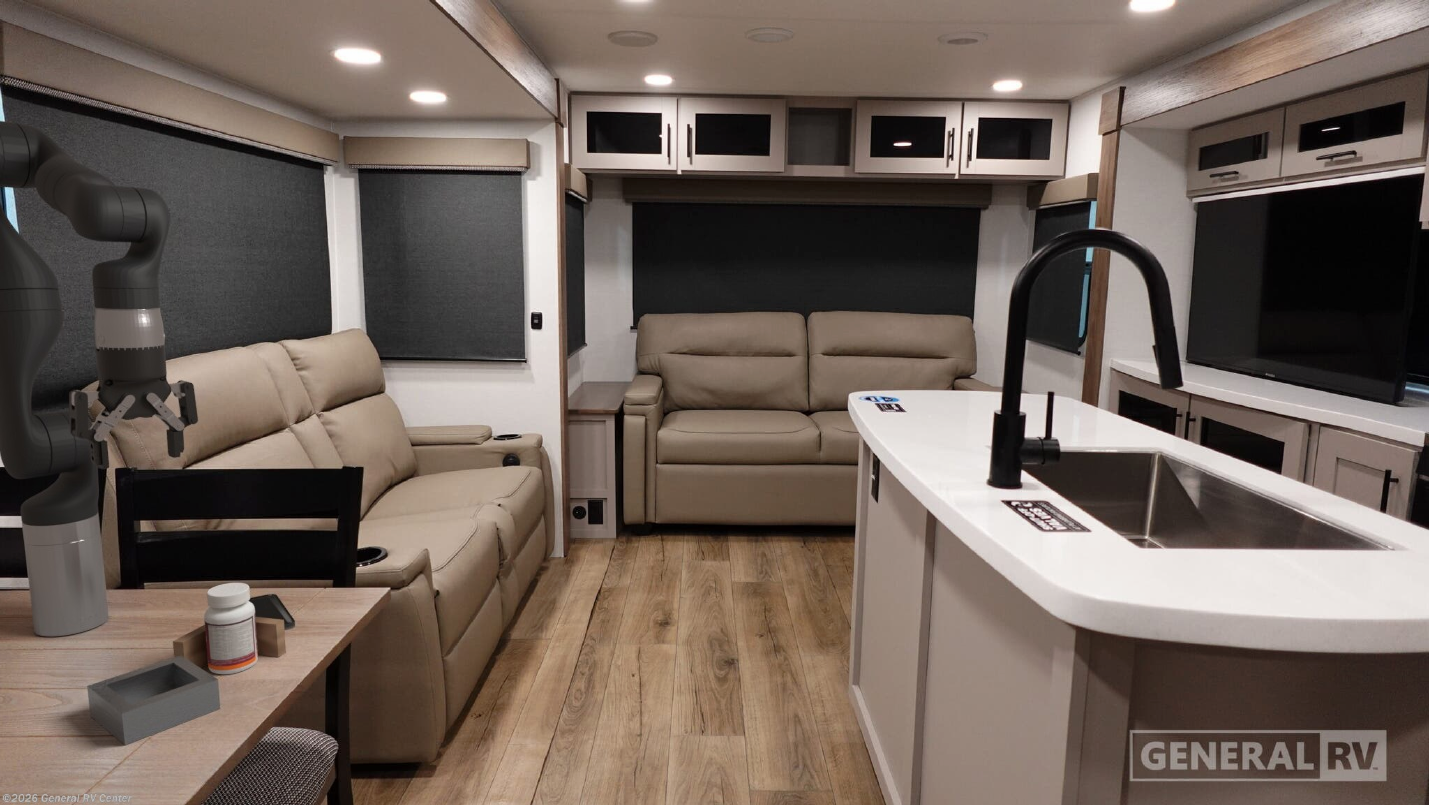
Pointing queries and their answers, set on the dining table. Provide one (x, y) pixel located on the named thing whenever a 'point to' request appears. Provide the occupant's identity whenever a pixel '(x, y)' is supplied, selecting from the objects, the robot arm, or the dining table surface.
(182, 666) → the bore block
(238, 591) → the pill bottle
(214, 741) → the dining table surface
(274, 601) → the phone
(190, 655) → the v block
